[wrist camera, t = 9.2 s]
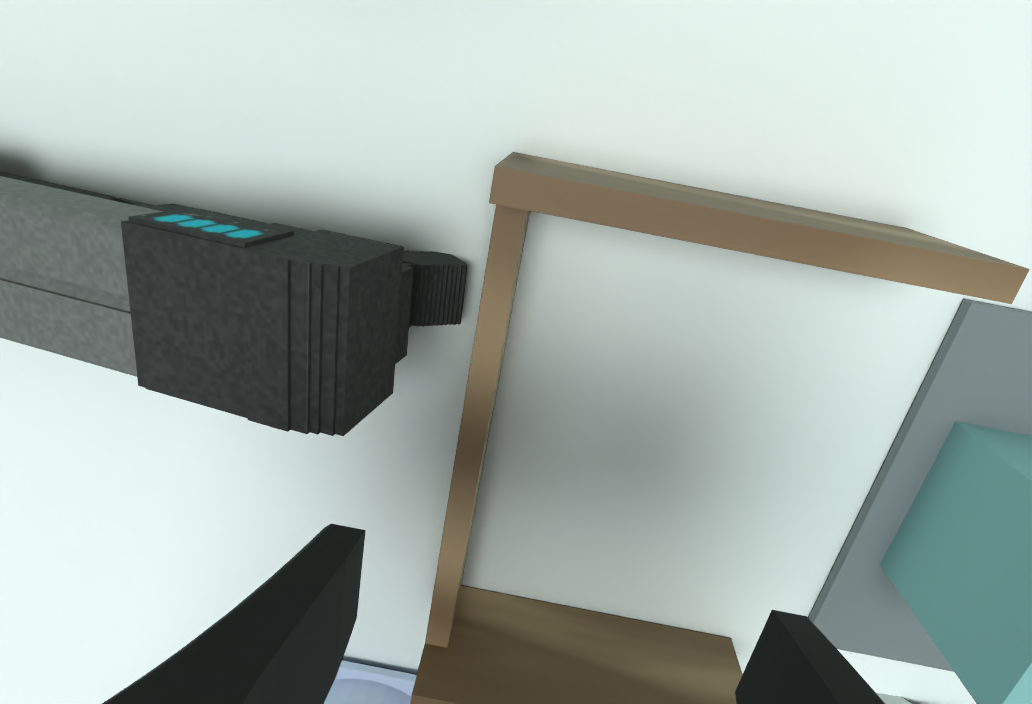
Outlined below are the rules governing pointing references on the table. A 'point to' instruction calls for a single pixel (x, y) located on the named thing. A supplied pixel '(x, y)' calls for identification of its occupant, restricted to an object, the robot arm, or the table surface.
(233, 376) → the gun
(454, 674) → the frame
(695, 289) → the table surface
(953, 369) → the mat
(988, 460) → the block
